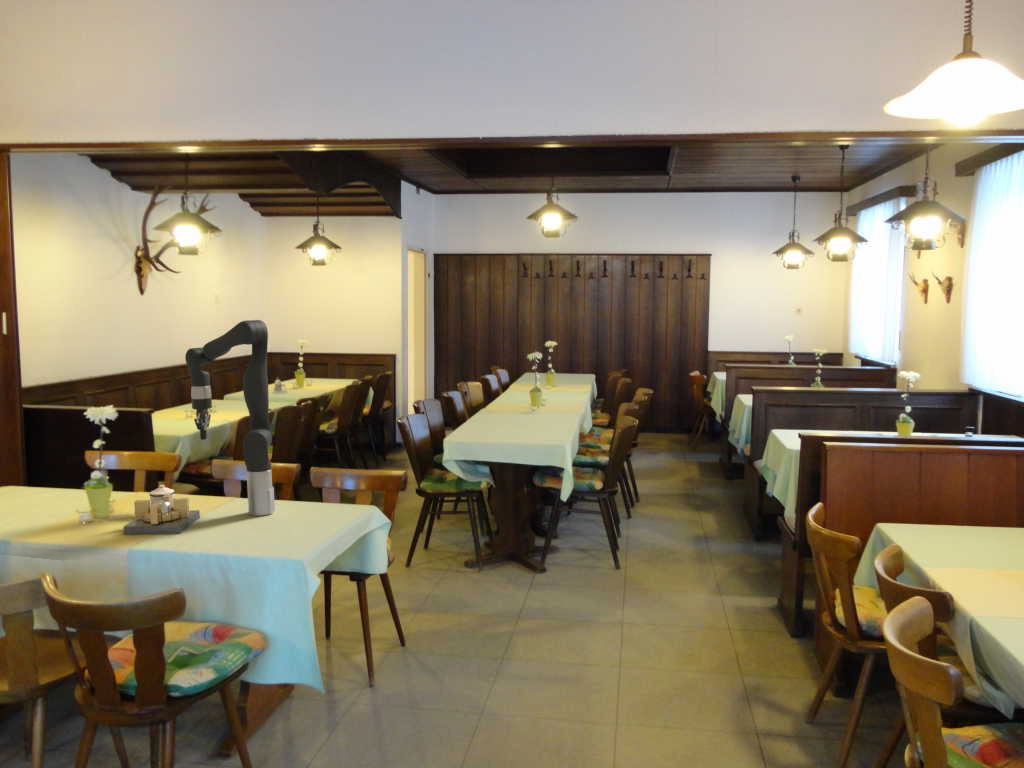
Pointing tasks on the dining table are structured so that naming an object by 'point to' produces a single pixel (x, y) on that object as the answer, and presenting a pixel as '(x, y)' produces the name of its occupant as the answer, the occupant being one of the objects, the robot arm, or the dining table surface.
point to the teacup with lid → (160, 493)
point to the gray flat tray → (162, 523)
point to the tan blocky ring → (155, 512)
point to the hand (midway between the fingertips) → (203, 439)
